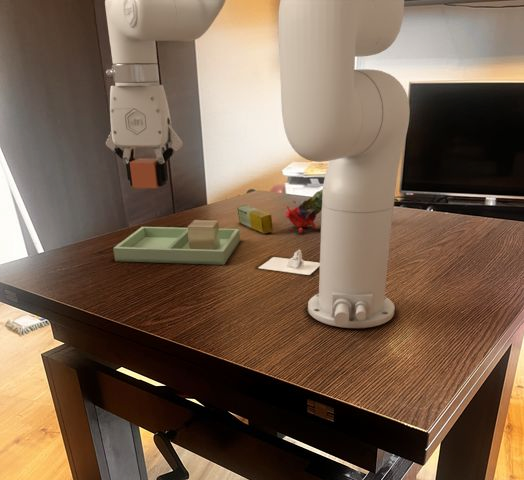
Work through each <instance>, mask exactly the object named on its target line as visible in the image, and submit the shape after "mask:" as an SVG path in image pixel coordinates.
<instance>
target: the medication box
mask: <svg viewBox="0 0 524 480" xmlns="http://www.w3.org/2000/svg"><path fill="white" fill-rule="evenodd" d="M237 215H238V222H239V224H241V225H244V226H246V227H248V228H250V229H253V230H255V231H257V232H259V233H262V234H268V233H271V232H274V226H273V219H272V218H273V217H272V214H271V213H269V212H267V211H263V210H261V209H258V208H256V207H253V206H250V205H248V204H243V205H240V206H237Z"/></svg>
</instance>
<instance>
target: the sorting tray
mask: <svg viewBox="0 0 524 480" xmlns="http://www.w3.org/2000/svg"><path fill="white" fill-rule="evenodd" d="M240 231H241V229H240V228H219V237H220V245H219V247H218V248H217V249H216V250H205V249H189V237H188V227H170V226H169V227H167V226H140V228H138V229H137V230H136V231H134V232H133V233H131V234H130V235H129V236H128V237H126V238H125V239H124V240H122V241H121V242H119V243H118V244H116V245H115V246H114V247H113V255H114V256H113V257H114V261H115V262H126V263H127V262H129V263H131V262H132V263H160V264H161V263H162V264H163V263H164V264H188V265H191V264H192V265H193V264H195V265H222V266H225V265H226V263H227V261H228V260H229V258H230V257H231V255H232V254H233V252H234V251H235V249H236V248H237V247H238V245H239V243H240V242H241V232H240Z"/></svg>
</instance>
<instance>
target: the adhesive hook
mask: <svg viewBox="0 0 524 480" xmlns="http://www.w3.org/2000/svg"><path fill="white" fill-rule="evenodd" d="M288 259H289V260H288V261H287V264H286V266H287V267H288V268H293V269H297V268H300V267H302V266H304V265H305V261H306V260H304V259H303V253H302V250H301V249H298V250H297V251H295V252H294V253H293V256H292V257H290V258H288Z"/></svg>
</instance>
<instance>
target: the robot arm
mask: <svg viewBox="0 0 524 480" xmlns="http://www.w3.org/2000/svg"><path fill="white" fill-rule="evenodd" d="M226 1H227V0H104V6H105V14H106V16H105V17H106V22H107V31H108V37H109V47H110V52H111V61H112V65H111V68H110V69H109V68H108V69H106V71H105V74H106V77H107V79H112V80H113V82H114V85H111V86H110V90H109V117H110V133H109V135H108V137H107V138H106V141H105V146H106V147H107V148H108V149H110V150H111V151H112V152H114V153H115V154H116V155H117V156H118V157H119V158H120V159H121V160H122V162H123V164H125V167H126V168H125V169H126V176H127V180H128V181H129V184H130V187H133V185H132V177H131V169H130V162H131V161H134V160H136V159H135V156H136V154H135V153H136V148H153V151H154V154H155V157H156V159H157V163H158V164H156V173H157V183H158V186H159V187H164V186H165V185H166V184H167V182H168V180H169V175H168V173H169V172H168V163H167V162H168V161H169V160H170V158H171V157H172V156H173V155H174V154H175V152H177V151H178V150H179V149H180V148H181V147H183V145H184V142H183V141H182V138H181V137H180V136H179V135H178V134H177V132H176V131H175V129H173V127H172V119H171V115H170V114H171V113H170V109H169V103H168V98H167V95H166V91H165V88H164V85H163V84H160V77H159V67H158V66H159V65H158V58H157V56H158V55H157V45H156V42H166V41H167V42H170V41H171V42H192V41H196V40H198V39H200V38H201V37H202V36H204V34H206V32H208V31H209V29H210V27H211V26H212V25H213V23H214V22H215V20H216V18H217V17H218V15H219V14H220V12H221V11H222V9H223V7H224V6H225V3H226ZM278 6H279V8H278V17H277V18H278V19H277V20H278V25H277V26H278V27H277V28H278V50H279V51H278V52H279V76H280V98H281V101H280V103H281V115H282V123H283V128H284V132H285V135H286V138H287V140H288V142H289V144H290V146H291V148H292V149H293V151H294V152H295V153H296V154H297V155H299V156H300V157H301V158H303V159H305V160H307V161H311V162H315V163H316V162H317V163H322V162H323V163H324V162H328V164H327V167H326V170H325V173H324V179H323V184H322V190H323V194H322V210H321V218H320V219H321V220H320V227H321V229H320V245H319V246H320V248H319V249H320V250H319V254H320V255H319V263H320V266H319V276H318V277H319V278H318V293H316V294H314V295H313V296H312V297H311V298H309V300H308V302H307V313H308V314H309V315H310V316H311V317H312V318H313V319H315V320H316V321H318V322H319V323H322V324H325V325H328V326H332V327H337V328H342V329H343V328H344V329H366V328H367V329H368V328H374V327H377V326H381V325H383V324H386V323H387V322H390V320H392V318H393V317H394V315H395V307H396V306H395V303H394V302H393V301H392V300H391V299H389V298H388V297H387V296H386V290H387V289H386V287H387V278H388V266H389V257H390V247H391V235H392V226H393V216H394V206H395V199H396V191H397V190H396V189H397V180H398V172H399V168H400V163H401V157H402V153H403V149H404V145H405V141H406V138H407V134H408V129H409V123H410V113H411V111H410V101H409V97H408V94H407V92H406V89H405V88H404V86H403V84H402V83H401V82H400V81H399V80H398V78H396V77H395V76H394V75H392V74H390V73H388V72H385V71H382V70H379V69H369V68H368V69H366V68H365V69H364V68H362V69H355V63H356V62H355V61H356V58H357V57H358V58H359V57H361V58H362V57H369V56H375V55H378V54H381V53H383V52H384V51H386V50H387V49H389V48H390V47H391V46H392V45H393V44H394V43H395V41H396V39H397V38H398V36H399V34H400V31H401V28H402V24H403V19H404V12H405V0H279V5H278ZM170 143H171V145H170V146H168V147H167V148H166V146H165V145H168V144H170Z"/></svg>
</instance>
